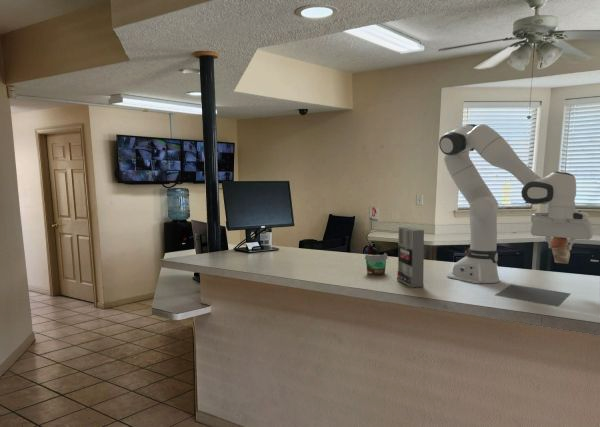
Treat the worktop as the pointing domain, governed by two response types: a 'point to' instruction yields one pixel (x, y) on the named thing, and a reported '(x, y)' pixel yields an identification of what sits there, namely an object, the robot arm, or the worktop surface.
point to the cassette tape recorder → (410, 256)
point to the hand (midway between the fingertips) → (559, 249)
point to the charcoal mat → (534, 295)
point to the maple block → (560, 250)
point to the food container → (376, 264)
